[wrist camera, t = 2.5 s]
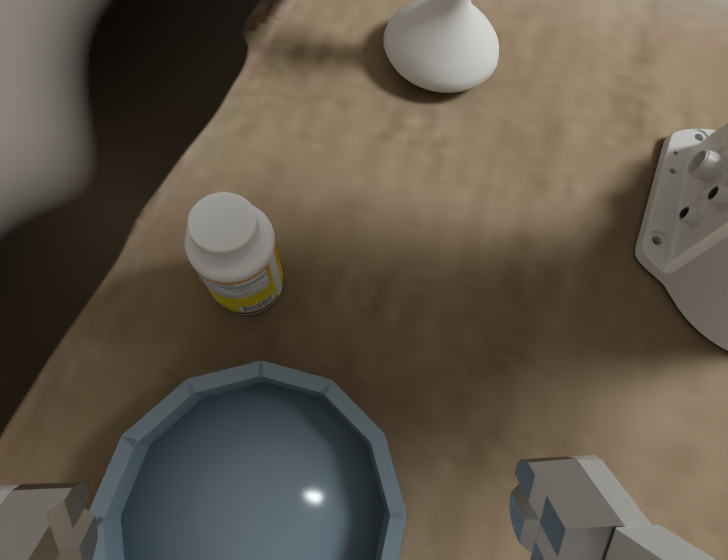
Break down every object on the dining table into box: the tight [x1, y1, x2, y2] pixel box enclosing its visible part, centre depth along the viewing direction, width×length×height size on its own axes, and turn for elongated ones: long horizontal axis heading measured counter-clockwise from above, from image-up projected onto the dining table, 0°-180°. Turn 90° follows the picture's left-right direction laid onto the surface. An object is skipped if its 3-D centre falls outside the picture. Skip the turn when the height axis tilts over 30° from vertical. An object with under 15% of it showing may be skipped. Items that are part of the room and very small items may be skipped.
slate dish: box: [89, 360, 407, 560], centre depth 29 cm, size 18×18×4 cm
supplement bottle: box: [184, 192, 284, 315], centre depth 31 cm, size 6×6×10 cm
